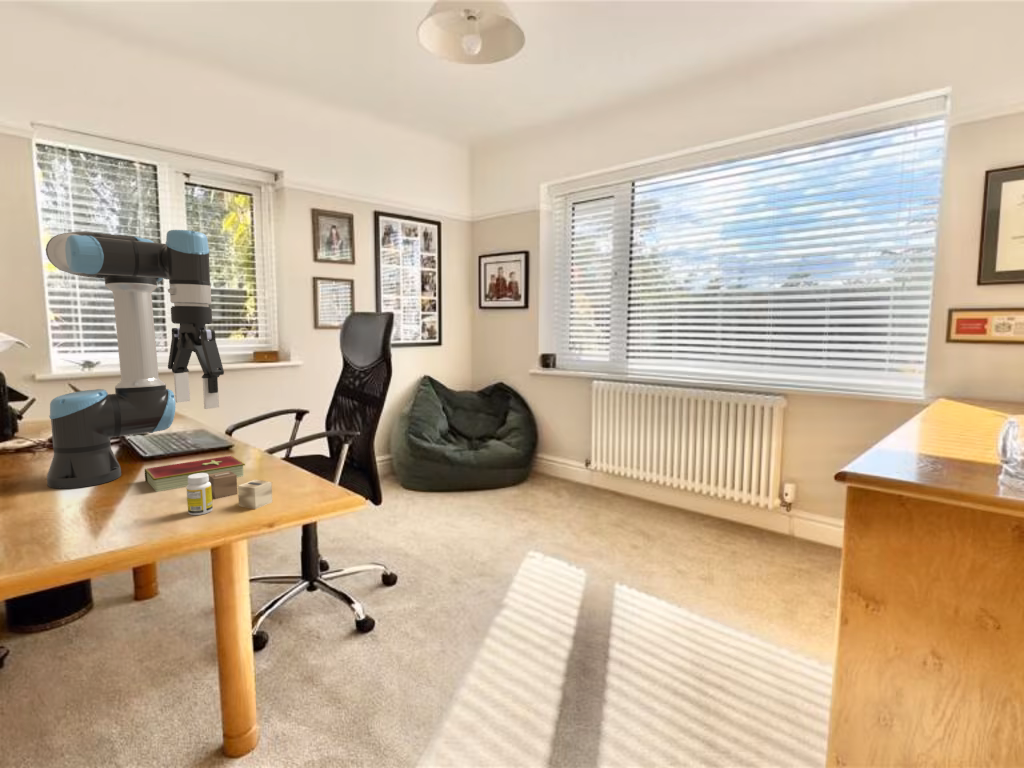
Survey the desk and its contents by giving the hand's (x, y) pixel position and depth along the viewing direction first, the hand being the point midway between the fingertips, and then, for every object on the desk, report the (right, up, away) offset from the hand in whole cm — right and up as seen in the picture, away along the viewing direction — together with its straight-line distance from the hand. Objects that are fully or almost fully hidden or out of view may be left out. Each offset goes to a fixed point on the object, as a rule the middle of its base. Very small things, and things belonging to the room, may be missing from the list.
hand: (196, 404), depth 115 cm
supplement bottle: (-1, -24, +3) cm, 24 cm away
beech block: (+9, -24, +8) cm, 27 cm away
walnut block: (-2, -23, +14) cm, 27 cm away
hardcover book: (-16, -22, +26) cm, 38 cm away
